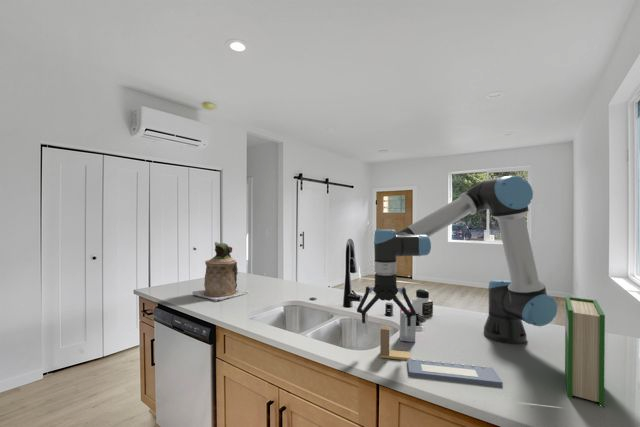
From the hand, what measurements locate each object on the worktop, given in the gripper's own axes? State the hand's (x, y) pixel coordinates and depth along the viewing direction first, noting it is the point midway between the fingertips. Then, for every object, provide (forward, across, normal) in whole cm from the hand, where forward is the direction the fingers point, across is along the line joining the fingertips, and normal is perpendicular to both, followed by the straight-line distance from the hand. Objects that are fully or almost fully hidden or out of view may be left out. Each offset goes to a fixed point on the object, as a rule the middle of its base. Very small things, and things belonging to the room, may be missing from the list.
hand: (386, 333), depth 111 cm
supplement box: (+8, +8, +16) cm, 19 cm away
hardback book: (+9, +56, -8) cm, 57 cm away
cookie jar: (+7, -99, +61) cm, 117 cm away
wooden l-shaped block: (+7, +3, 0) cm, 8 cm away
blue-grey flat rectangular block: (+8, +20, -9) cm, 23 cm away
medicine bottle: (+8, +17, +51) cm, 54 cm away
